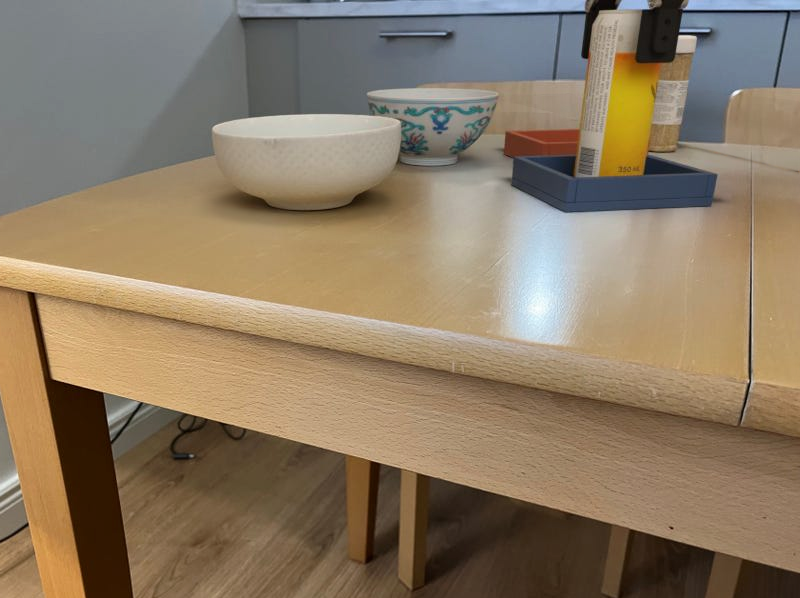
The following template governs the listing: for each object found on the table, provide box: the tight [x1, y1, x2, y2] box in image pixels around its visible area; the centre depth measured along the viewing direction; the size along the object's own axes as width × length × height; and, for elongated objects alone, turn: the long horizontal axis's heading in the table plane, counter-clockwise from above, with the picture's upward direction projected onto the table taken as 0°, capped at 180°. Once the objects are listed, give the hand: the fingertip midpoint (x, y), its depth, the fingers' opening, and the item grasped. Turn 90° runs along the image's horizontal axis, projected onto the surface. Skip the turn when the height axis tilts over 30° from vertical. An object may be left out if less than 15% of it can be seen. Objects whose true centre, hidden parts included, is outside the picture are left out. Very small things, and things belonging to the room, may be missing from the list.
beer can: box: [574, 9, 661, 177], centre depth 68 cm, size 6×6×15 cm
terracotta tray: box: [503, 128, 650, 159], centre depth 89 cm, size 13×12×3 cm
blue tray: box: [510, 153, 718, 213], centre depth 70 cm, size 14×13×3 cm
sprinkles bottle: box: [648, 34, 698, 153], centre depth 93 cm, size 5×5×14 cm
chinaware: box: [366, 87, 499, 167], centre depth 88 cm, size 15×15×8 cm
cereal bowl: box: [211, 113, 401, 211], centre depth 68 cm, size 17×17×7 cm
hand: (624, 60), depth 66 cm, fingers open, 9 cm apart
